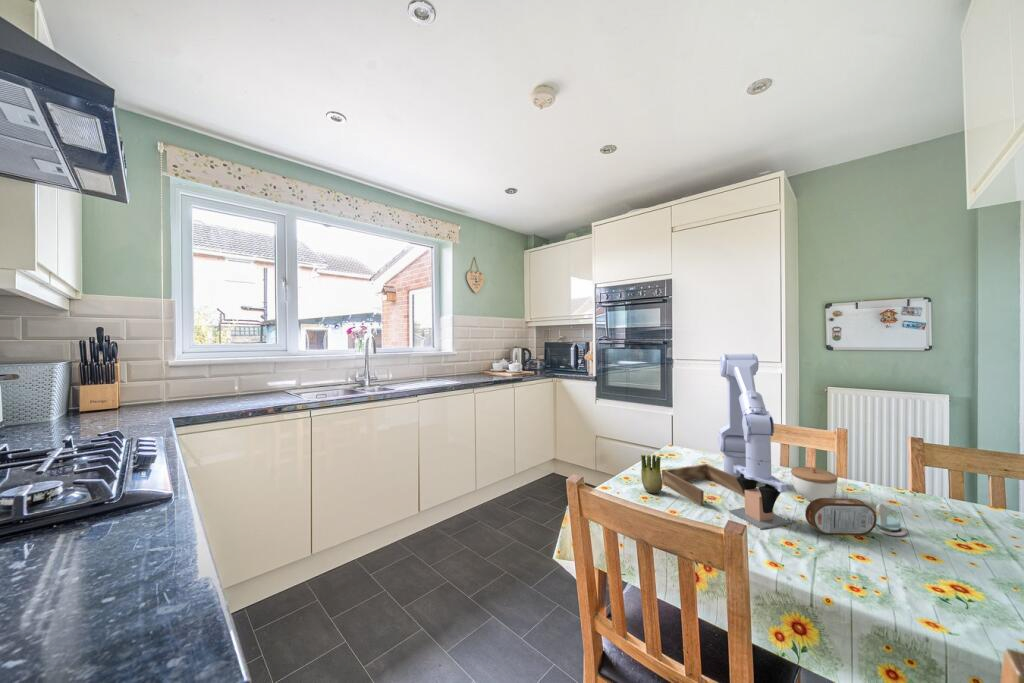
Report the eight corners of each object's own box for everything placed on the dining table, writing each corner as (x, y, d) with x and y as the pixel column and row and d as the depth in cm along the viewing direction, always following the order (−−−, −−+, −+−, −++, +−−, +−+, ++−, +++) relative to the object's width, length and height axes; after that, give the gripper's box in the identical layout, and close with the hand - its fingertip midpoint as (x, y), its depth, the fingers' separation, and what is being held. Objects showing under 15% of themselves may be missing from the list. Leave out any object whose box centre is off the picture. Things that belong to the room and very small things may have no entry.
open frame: (706, 476, 129) (706, 464, 129) (750, 497, 112) (750, 483, 112) (662, 483, 124) (661, 470, 124) (700, 506, 107) (700, 491, 107)
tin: (868, 530, 92) (868, 497, 92) (880, 537, 89) (879, 503, 89) (804, 529, 94) (803, 496, 94) (813, 536, 91) (812, 502, 90)
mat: (757, 506, 106) (757, 505, 106) (791, 523, 96) (791, 522, 96) (729, 511, 104) (729, 510, 104) (761, 529, 94) (761, 528, 94)
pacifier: (913, 534, 90) (882, 522, 96) (914, 509, 90) (882, 498, 96) (894, 540, 88) (863, 527, 94) (895, 515, 88) (864, 503, 93)
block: (758, 511, 103) (757, 488, 103) (773, 518, 98) (772, 494, 98) (745, 513, 102) (744, 490, 102) (759, 521, 97) (759, 497, 97)
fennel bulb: (639, 490, 119) (639, 453, 119) (650, 486, 122) (649, 450, 122) (655, 496, 114) (654, 458, 114) (665, 493, 117) (664, 455, 117)
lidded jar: (846, 502, 107) (846, 470, 107) (822, 509, 103) (822, 476, 103) (806, 488, 117) (805, 459, 117) (783, 494, 113) (782, 464, 113)
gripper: (724, 451, 106) (725, 498, 106) (771, 469, 92) (772, 523, 92) (744, 449, 108) (745, 495, 108) (793, 465, 94) (794, 518, 94)
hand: (759, 507), depth 100 cm, fingers open, 5 cm apart
